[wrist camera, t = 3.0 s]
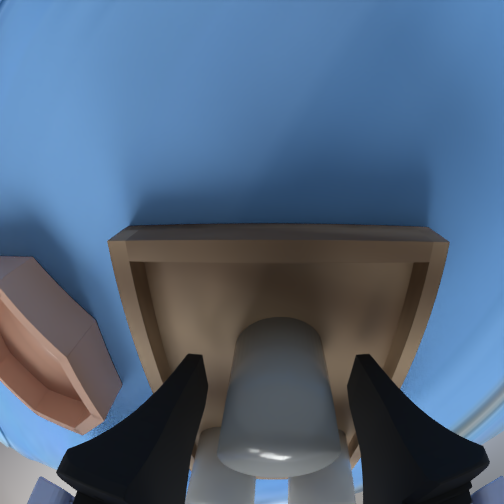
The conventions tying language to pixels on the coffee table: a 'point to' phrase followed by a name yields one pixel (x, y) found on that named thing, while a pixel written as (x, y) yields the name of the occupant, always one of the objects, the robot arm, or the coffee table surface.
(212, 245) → the tray
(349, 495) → the light stone
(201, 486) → the light stone
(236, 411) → the grey rounded cylinder
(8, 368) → the bowl
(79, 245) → the coffee table surface
